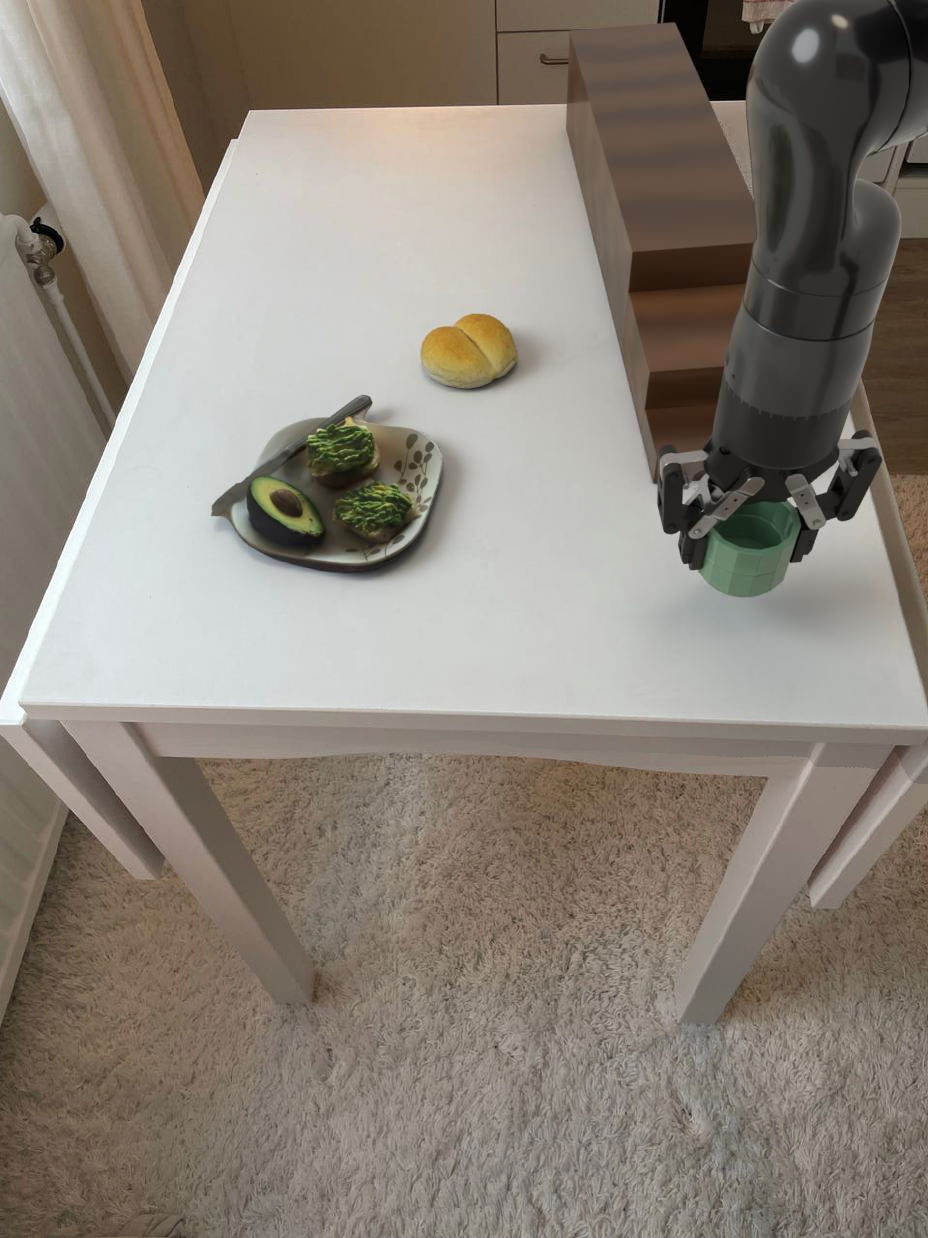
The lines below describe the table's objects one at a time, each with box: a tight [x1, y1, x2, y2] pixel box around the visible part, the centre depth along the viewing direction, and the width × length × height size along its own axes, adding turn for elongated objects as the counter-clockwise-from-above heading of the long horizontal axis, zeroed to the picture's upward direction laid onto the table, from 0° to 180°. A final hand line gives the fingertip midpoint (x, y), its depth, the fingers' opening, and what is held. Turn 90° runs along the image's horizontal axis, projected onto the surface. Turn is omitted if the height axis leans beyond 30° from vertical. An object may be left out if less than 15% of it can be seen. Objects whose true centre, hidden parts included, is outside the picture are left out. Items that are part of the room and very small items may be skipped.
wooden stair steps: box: [565, 21, 756, 484], centre depth 94 cm, size 61×12×11 cm, turn 3°
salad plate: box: [210, 394, 445, 574], centre depth 80 cm, size 19×18×5 cm
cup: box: [697, 492, 801, 599], centre depth 67 cm, size 6×6×5 cm
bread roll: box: [420, 313, 519, 390], centre depth 90 cm, size 8×9×4 cm
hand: (742, 557), depth 68 cm, fingers closed on cup, 6 cm apart
